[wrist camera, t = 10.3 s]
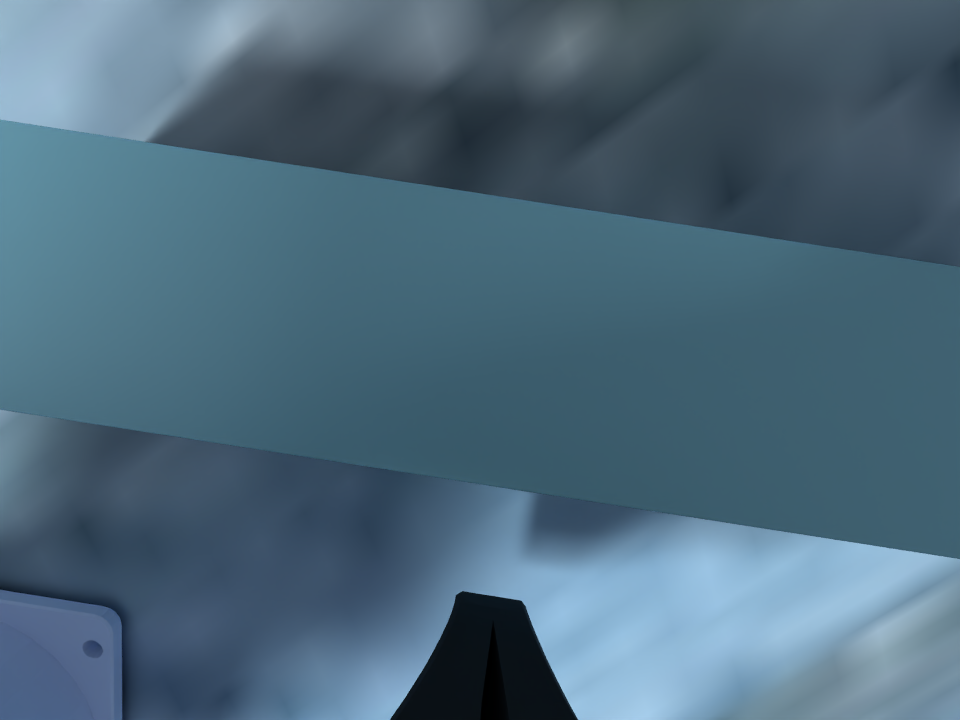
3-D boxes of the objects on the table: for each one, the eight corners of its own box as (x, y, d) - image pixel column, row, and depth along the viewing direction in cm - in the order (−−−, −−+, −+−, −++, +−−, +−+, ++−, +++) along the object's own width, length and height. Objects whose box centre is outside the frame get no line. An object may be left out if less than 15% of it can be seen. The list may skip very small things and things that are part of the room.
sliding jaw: (904, 460, 12) (1137, 586, 8) (128, 340, 12) (-87, 396, 8) (965, 286, 11) (1272, 314, 7) (128, 158, 11) (-114, 102, 7)
